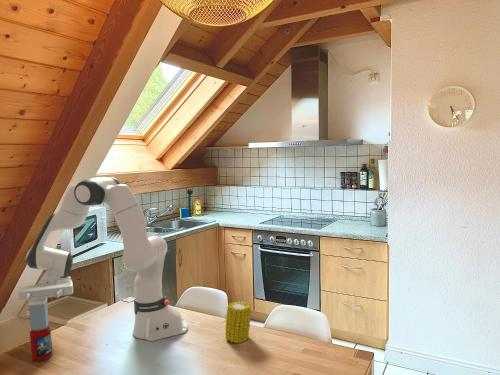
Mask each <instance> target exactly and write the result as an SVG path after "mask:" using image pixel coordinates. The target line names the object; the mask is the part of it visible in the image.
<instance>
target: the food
mask: <svg viewBox="0 0 500 375" xmlns="http://www.w3.org/2000/svg"><path fill="white" fill-rule="evenodd" d="M226 308H227V309H226V316H225V317H226V319H225V320H226V321H225V333H224V334H225V339H226V340H228V341H230V342H231V343H235V344H241V343H245V342H246V341H248V339H249V336H250V327H251V317H252V316H251V314H252V312H251V311H252V309H251V308H252V307H251V304H250V303H249V302H247V301H240V300H239V301H232V302H229V303H228V305H227V306H226Z"/></svg>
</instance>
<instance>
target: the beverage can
mask: <svg viewBox="0 0 500 375" xmlns="http://www.w3.org/2000/svg"><path fill="white" fill-rule="evenodd" d="M51 331H52V330H51V327H50V325H49V324H48V325H47V328H44V329H37V330H31V329H30V331H29V338H30V340H29V341H30V351H31V352H30V353H31V359H32V360H34V361H36V362H42V361H44V360H47V359H49V358H50V357H51V356H52V355H53V346H52V333H51Z"/></svg>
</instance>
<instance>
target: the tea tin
mask: <svg viewBox="0 0 500 375" xmlns="http://www.w3.org/2000/svg"><path fill="white" fill-rule="evenodd" d="M28 310H29V322H30V331H31V330H37V329H44V328H47V325H48V326H49V323H50V321H49V310H48V298H47V297H40V298H32V299H31V300H30V301H28Z"/></svg>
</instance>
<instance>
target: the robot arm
mask: <svg viewBox="0 0 500 375" xmlns="http://www.w3.org/2000/svg"><path fill="white" fill-rule="evenodd" d="M102 204H106V205H107V206H108V207H109V208H110V210H111V213H112V215H113V217H114V219H115V221H116V224H117V227H118V228H119V232H120V233H121V234H120V235H121V238H122V245H123V253H122V257H121V258H122V259H121V260H122V264H123V266H124V268H126V270H127V271H130V272H132V273H133V272H134V273H136V272H137V273H136V275H135V278H134V281H133V289H134V292H133V293H134V300H133V312H134V326H133V330H132V335H133V336H134V338H137V339H141V340H146V341H148V342H153V341H158V340H161V339H165V338H169V337H175V336H177V335H182V334H185V333H187V331H188V329H189V328H188V322H187V321H186V320H185V319H184V318H182V315H181V313H180V311H179V310H178V309H177V308H176V307H173V306H172V305H170V300H169V299H168V298H167V297H166V295H163V284H162V279H163V270H164V264H165V257H166V255H167V252H168V243H167V241H166V240H165V238H163V237H161V236H158V235H153V236H148V232H147V225H148V221H147V219H146V216H145V214H144V211H143V209H142V207H141V205H140V203H139V201H138V198H137V197H136V195H135V193H134V192H133V191H132V189H131V188H130V187H129V185H128V184H125V183H121V182H120V181H119V179H117V178H116V177H114V176H99V177H98V176H97V177H91V178H88V179H84V180H81V181H79V182H78V183H75V184H72V185H70V186H69V187H68V189H67V190H66V193H65V194H64V197H63V200H62V203H61V204H60V205H61V206H60V207H59V210H58V211H57V212H56V213H51V214H50V215H49V216H48V218H47V220H46V221H45V222H44V225H43V226H42V227H41V230H40V232H39V234H38V235H37V237H36V239H35V241H34V243H33V245H32V246H31V247H30V249H29V250H28V251H27V253H26V256H25V263H26V265H27V266H28V267H29V268H30V269H36V270H44V271H46V272H44V274H42V277H41V278H40V280H39V281H38V283H37V284H35V285H26V286H23V287H21V288H20V289H19V290H18V291H17V299H18V301H26V300H27V302H30V300H31V299H32V298H40V297H47V299H48V298H52V297H54V299H57V298H58V299H59V298H60V297H62V296H68V295H69V296H70V295H72V294H74V284H73V280H72V277H71V276H69V273H70V272H71V269H72V266H73V263H74V262H73V261H74V258H73V256H72V254H71V253H70V252H69V251H66V250H65V251H64V250H61V249H56V248H52V247H47V246H46V245H45V244H46V242H47V241H48V239H49V238H50V237H49V236H50V235H51V234H52V233H53V232H56V231H63V230H74V229H77V228H79V227H80V226H82V225H83V224H84V223H85V221H86V219H87V217H88V215H89V214H88V213H89V210H90V208H91V207H92V206H99V205H102Z"/></svg>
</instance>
